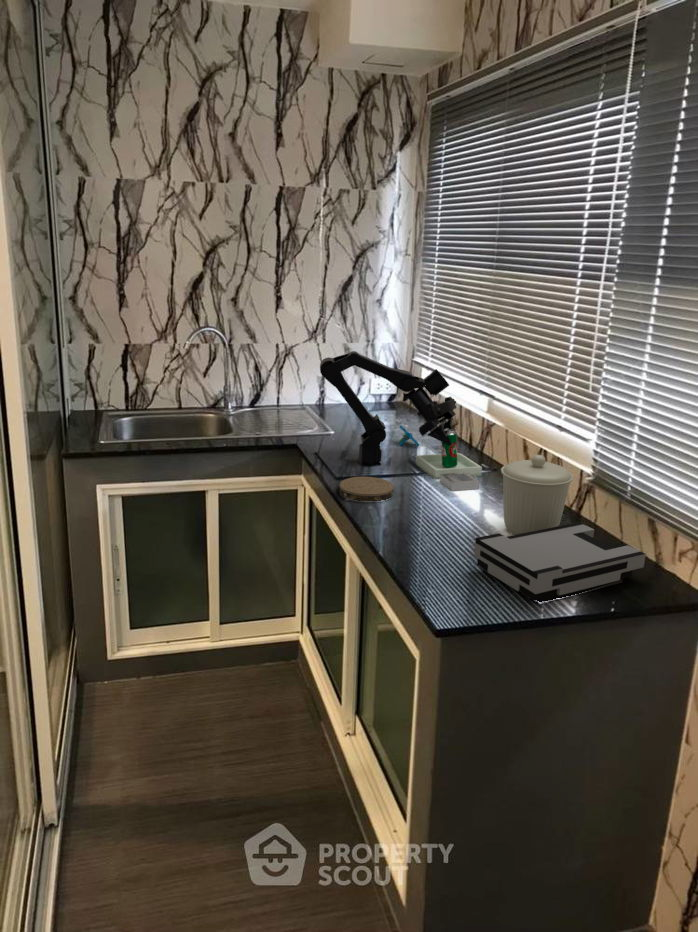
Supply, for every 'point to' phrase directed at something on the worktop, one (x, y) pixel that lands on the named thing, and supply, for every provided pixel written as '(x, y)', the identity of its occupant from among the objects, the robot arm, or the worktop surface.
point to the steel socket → (459, 481)
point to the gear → (407, 437)
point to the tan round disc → (366, 489)
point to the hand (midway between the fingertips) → (453, 443)
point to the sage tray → (435, 467)
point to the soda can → (450, 450)
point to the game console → (555, 561)
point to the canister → (534, 494)
